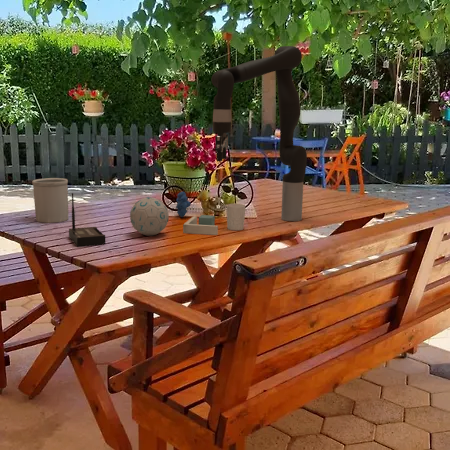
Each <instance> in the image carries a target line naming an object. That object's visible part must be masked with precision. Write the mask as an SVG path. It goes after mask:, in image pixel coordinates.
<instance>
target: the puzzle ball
mask: <svg viewBox="0 0 450 450" xmlns="http://www.w3.org/2000/svg"><path fill="white" fill-rule="evenodd" d="M134 203H135V204H134V205H133V206H132V208H131V210H130V213H129V219H130V223H131V225H132V227H133V229H134V230H136V231H137V232H138V233H140V234H141V235H144V236H146V237H147V236H156V235H158V234H159V233H160V232H161V233H162V231H163V230H165V228H166V227H167V225H168V223H169V218H170V217H169V216H170V215H169V211H168V208H167V206H166V205H165V204H164V202H162V201H161V200H160V199H158V198H155V197H149V196H147V197H144V198H143V197H142V198H141V199H139V200H138V201H136V202H134Z"/></svg>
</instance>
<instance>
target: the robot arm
mask: <svg viewBox="0 0 450 450" xmlns="http://www.w3.org/2000/svg"><path fill="white" fill-rule="evenodd" d="M302 58H303V54H302V51H301V50H300V49H299V48H298V47H296V46H295V45H285V46H283V45H282V46H279V47H278V48H277V49H276V50H275V52H274V54H273V55H270V56H267V57H262V58H259V59H258V58H257V59H253V60H249V61H246V62H243V63H241V64H238V65H236V66H232V67H227V68H224V69H223V68H222V69H219V70H217V71H215V72H214V73H213V74H212V76H211V83H212V85H213V86H214V87H215V88H217V91H216V92H217V93H216V95H215V96H214V97H213V112H212V132H213V133H217V135H215V136H214V137H215V144H214V145H215V146H214V147H215V148H214V151H216V161H217V162H223V160H226V159H227V150H228V148H229V133H232V96H233V91H234V87H235V84H236V83H237V84H238V83H244V82H247V81H250V80H252V79H255V78H259V77H260V76H263V75H266V74H269V73H273V72H275V75H276V83H277V96H278V98H277V99H278V114H279V116H278V117H279V160H280V162H281V164H282V165H285V166H289V167H290V170H289V172H287V173H284V174H283V175H282V190H281V191H282V192H281V216H280V219H281V220H282V221H287V222H298V221H302V220H303V199H304V181H305V180H304V179H305V176H306V172H307V162H308V156H307V155H308V153H307V150H306V148H305V147H304V146H302V145H297V144H294V132H295V129H296V127H297V125H298V122H299V120H300V116H301V100H300V97H299V93H298V90H297V88H296V86H295V82H294V78H293V69H295V68H297V67H298V66H299V65H300V64H301V62H302Z"/></svg>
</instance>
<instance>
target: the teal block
mask: <svg viewBox="0 0 450 450" xmlns="http://www.w3.org/2000/svg"><path fill="white" fill-rule="evenodd" d="M215 217H216V216H215V215H210V214H209V215H207V214H201V215H199V217H198V225H213V226H216V224H215V223H216V218H215Z"/></svg>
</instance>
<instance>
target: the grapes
mask: <svg viewBox="0 0 450 450" xmlns="http://www.w3.org/2000/svg"><path fill="white" fill-rule="evenodd" d="M188 199H189V198H188V196H187V194H186V192H185V191H180V192H179V193H177V198H176V200H175V201H176V202H177V203H176V206H175V208H176V209H177V211H176V213H177V215H178V216H179V217H180V218H184V217H185V216H186V214H187V213H188V210H187V209H188V208H189V207H190V206H191V204H192V203H191V202H190V201H189V200H188Z"/></svg>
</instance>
